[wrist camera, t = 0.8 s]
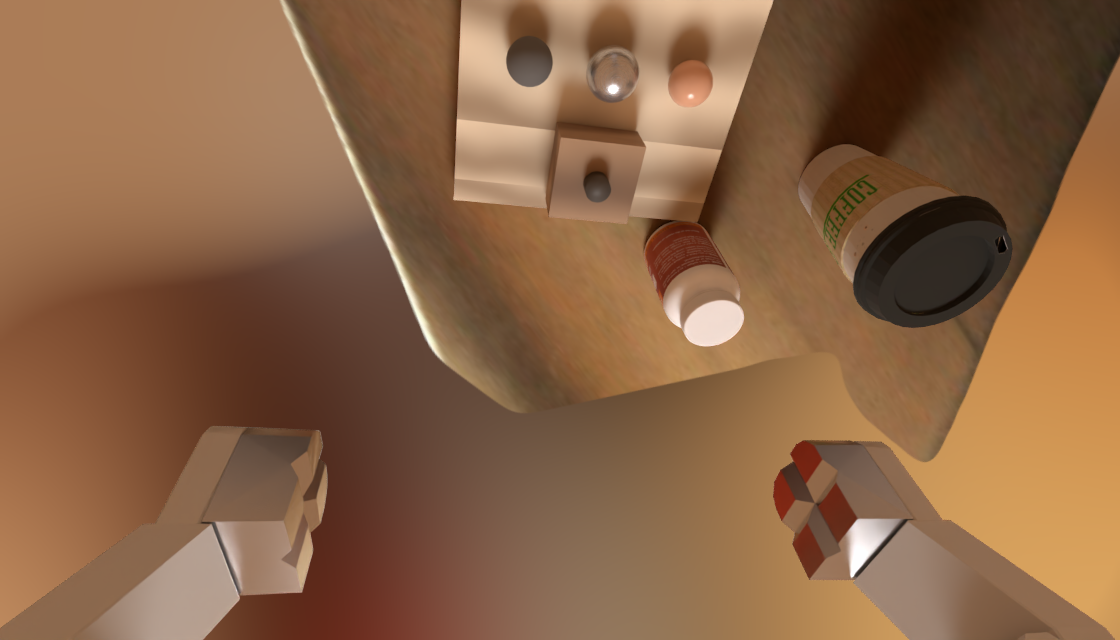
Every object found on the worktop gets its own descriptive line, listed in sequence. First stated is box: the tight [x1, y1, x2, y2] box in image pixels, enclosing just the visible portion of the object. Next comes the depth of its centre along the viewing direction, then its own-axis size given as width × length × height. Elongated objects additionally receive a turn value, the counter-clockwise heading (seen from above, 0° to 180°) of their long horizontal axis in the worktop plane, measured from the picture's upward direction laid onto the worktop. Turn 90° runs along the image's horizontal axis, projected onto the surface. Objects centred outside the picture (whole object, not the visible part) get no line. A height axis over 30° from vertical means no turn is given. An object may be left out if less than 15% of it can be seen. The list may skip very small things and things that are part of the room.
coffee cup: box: [798, 144, 1012, 328], centre depth 42 cm, size 10×10×15 cm
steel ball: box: [586, 45, 639, 103], centre depth 37 cm, size 4×4×4 cm
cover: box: [545, 122, 646, 224], centre depth 40 cm, size 6×6×4 cm
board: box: [454, 0, 773, 222], centre depth 40 cm, size 20×20×2 cm
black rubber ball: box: [506, 36, 553, 87], centre depth 36 cm, size 3×3×3 cm
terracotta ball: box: [668, 60, 713, 108], centre depth 38 cm, size 3×3×3 cm
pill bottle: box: [644, 220, 744, 346], centre depth 47 cm, size 6×6×11 cm
